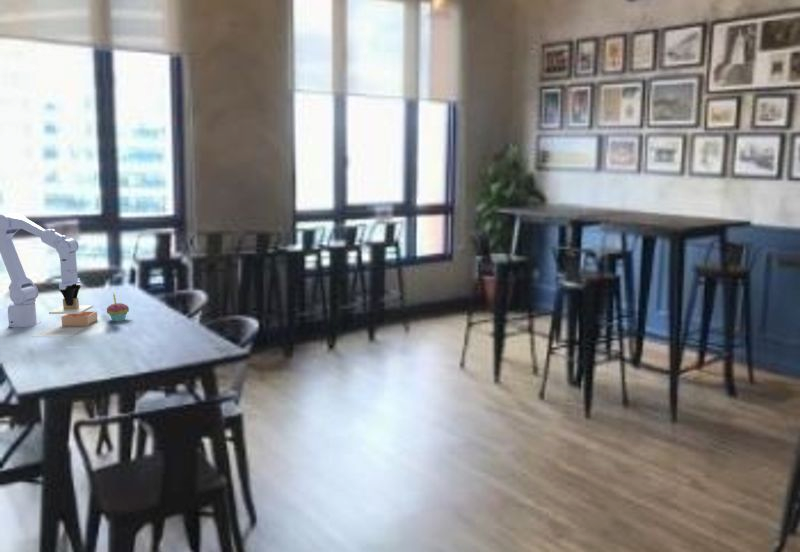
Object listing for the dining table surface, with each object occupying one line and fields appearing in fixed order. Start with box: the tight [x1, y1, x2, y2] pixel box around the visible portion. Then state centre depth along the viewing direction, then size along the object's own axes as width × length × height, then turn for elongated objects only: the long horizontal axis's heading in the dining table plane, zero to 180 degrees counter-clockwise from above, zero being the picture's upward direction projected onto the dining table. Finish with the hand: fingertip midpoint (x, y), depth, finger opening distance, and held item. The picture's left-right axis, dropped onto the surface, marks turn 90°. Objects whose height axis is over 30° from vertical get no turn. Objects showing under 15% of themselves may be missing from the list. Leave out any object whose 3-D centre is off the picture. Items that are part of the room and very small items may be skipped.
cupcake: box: [106, 292, 130, 322], centre depth 303 cm, size 9×8×12 cm
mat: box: [31, 327, 85, 338], centre depth 283 cm, size 14×14×1 cm
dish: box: [60, 310, 98, 327], centre depth 298 cm, size 10×10×4 cm
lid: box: [48, 297, 94, 315], centre depth 291 cm, size 12×12×5 cm
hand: (71, 304), depth 291 cm, fingers closed on lid, 2 cm apart
